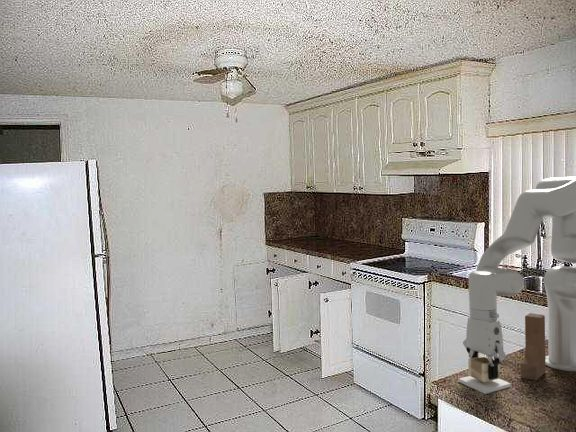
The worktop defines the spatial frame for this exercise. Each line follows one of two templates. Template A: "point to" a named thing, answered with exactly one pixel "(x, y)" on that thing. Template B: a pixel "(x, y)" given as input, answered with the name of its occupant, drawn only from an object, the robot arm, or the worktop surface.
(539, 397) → the worktop surface
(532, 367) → the wooden block
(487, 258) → the robot arm
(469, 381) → the pin plate
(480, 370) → the maple collar
